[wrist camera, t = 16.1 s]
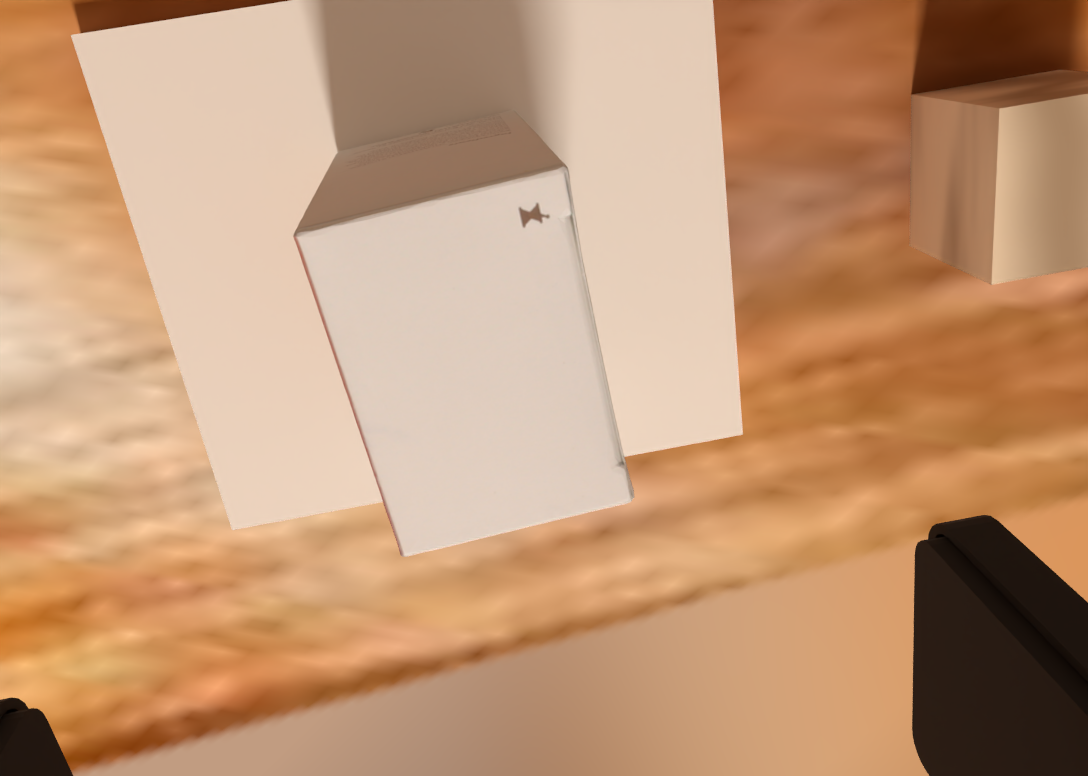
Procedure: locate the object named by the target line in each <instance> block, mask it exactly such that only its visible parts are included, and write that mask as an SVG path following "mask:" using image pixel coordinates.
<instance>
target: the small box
mask: <svg viewBox="0 0 1088 776" xmlns="http://www.w3.org/2000/svg"><path fill="white" fill-rule="evenodd" d="M293 237H294V240H295V242H296V245H297V248H298V251H299V254H300V257H301V260H302V263H303V266H304V269H305V272H306V275H307V278H308V281H309V284H310V286H311V289H312V292H313V295H314V298H315V301H316V304H317V307H318V310H319V313H320V316H321V319H322V322H323V325H324V328H325V331H326V334H327V337H328V340H329V343H330V346H331V349H332V352H333V355H334V358H335V361H336V364H337V367H338V370H339V373H340V376H341V379H342V382H343V384H344V387H345V390H346V393H347V396H348V399H349V402H350V405H351V408H352V411H353V414H354V417H355V420H356V423H357V426H358V429H359V432H360V435H361V438H362V441H363V444H364V446H365V449H366V452H367V455H368V458H369V461H370V464H371V467H372V470H373V473H374V476H375V479H376V482H377V485H378V488H379V491H380V494H381V497H382V500H383V503H384V506H385V509H386V512H387V515H388V518H389V520H390V523H391V526H392V529H393V532H394V535H395V538H396V541H397V544H398V547H399V551H400V554H401V556H403V557H408V556H411V555H415V554H419V553H423V552H427V551H432V550H436V549H441V548H445V547H449V546H453V545H457V544H461V543H465V542H469V541H473V540H477V539H481V538H485V537H489V536H493V535H498V534H502V533H506V532H510V531H514V530H518V529H522V528H526V527H530V526H534V525H538V524H543V523H547V522H551V521H555V520H559V519H563V518H568V517H572V516H576V515H580V514H584V513H589V512H593V511H597V510H601V509H605V508H610V507H614V506H618V505H623V504H627V503H629V502H631V501H632V499H633V498H634V490H633V487H632V483H631V480H630V476H629V473H628V469H627V465H626V461H625V457H624V454H623V450H622V446H621V441H620V437H619V432H618V428H617V423H616V419H615V414H614V410H613V405H612V400H611V395H610V391H609V386H608V381H607V376H606V371H605V367H604V362H603V357H602V352H601V347H600V343H599V338H598V333H597V328H596V323H595V318H594V313H593V308H592V303H591V298H590V293H589V288H588V283H587V278H586V273H585V268H584V263H583V258H582V253H581V247H580V241H579V235H578V229H577V222H576V216H575V210H574V204H573V198H572V191H571V185H570V175H569V170H568V167H567V166H566V164H564V163H563V162H562V161H561V160H560V159H559V157H558V156H557V155H556V154H555V153H554V152H553V151H552V150H551V149H550V148H549V147H548V145H547V144H546V143H545V142H544V141H543V140H542V139H541V138H540V137H539V135H538V134H537V133H536V132H535V131H534V130H533V129H532V128H531V127H530V126H529V125H528V124H527V123H526V121H525V120H524V119H523V118H522V117H521V116H520V115H519V114H518V113H517V112H516V111H515V110H510V111H506V112H502V113H499V114H495V115H491V116H486V117H482V118H478V119H473V120H469V121H465V122H460V123H456V124H452V125H447V126H443V127H439V128H435V129H431V130H426V131H422V132H418V133H414V134H410V135H405V136H401V137H397V138H393V139H388V140H384V141H380V142H376V143H371V144H367V145H363V146H359V147H355V148H351V149H347V150H342V151H339V152H338V153H337V154H336V155H335V157H334V159H333V161H332V163H331V165H330V166H329V169H328V170H327V172H326V173H325V176H324V178H323V180H322V181H321V183H320V185H319V187H318V189H317V191H316V193H315V194H314V196H313V198H312V200H311V202H310V204H309V205H308V207H307V209H306V211H305V213H304V215H303V217H302V219H301V221H300V222H299V224H298V227H297V229H296V230H295V232H294V235H293Z"/></svg>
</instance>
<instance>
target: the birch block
mask: <svg viewBox="0 0 1088 776" xmlns="http://www.w3.org/2000/svg"><path fill="white" fill-rule="evenodd" d="M910 246H911V247H913V248H915V249H917V250H919V251H921V252H923V253H925V254H928V255H930V256H932V257H934V258H936V259H938V260H940V261H942V262H944V263H947V264H949V265H951V266H953V267H955V268H957V269H959V270H961V271H964V272H966V273H968V274H970V275H972V276H974V277H976V278H978V279H980V280H983V281H985V282H987V283H989V284H991V285H993V284H998V283H1004V282H1009V281H1015V280H1020V279H1026V278H1031V277H1037V276H1042V275H1048V274H1053V273H1059V272H1064V271H1070V270H1075V269H1081V268H1086V267H1088V72H1083V71H1071V70H1054V71H1048V72H1043V73H1037V74H1031V75H1025V76H1019V77H1013V78H1007V79H1001V80H995V81H989V82H983V83H977V84H971V85H965V86H959V87H953V88H948V89H942V90H936V91H930V92H924V93H918V94H912V95H911V161H910Z"/></svg>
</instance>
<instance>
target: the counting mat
mask: <svg viewBox="0 0 1088 776" xmlns="http://www.w3.org/2000/svg"><path fill="white" fill-rule="evenodd" d="M71 37H72V40H73V43H74V46H75V49H76V53H77V56H78V59H79V62H80V65H81V68H82V71H83V74H84V77H85V80H86V83H87V86H88V89H89V92H90V95H91V99H92V102H93V105H94V108H95V111H96V114H97V117H98V120H99V123H100V126H101V129H102V132H103V135H104V138H105V141H106V145H107V148H108V151H109V154H110V157H111V160H112V163H113V166H114V169H115V172H116V175H117V178H118V181H119V184H120V187H121V191H122V194H123V197H124V200H125V203H126V206H127V209H128V212H129V215H130V218H131V221H132V224H133V227H134V230H135V233H136V237H137V240H138V243H139V246H140V249H141V252H142V255H143V258H144V261H145V264H146V267H147V270H148V273H149V276H150V279H151V283H152V286H153V289H154V292H155V295H156V298H157V301H158V304H159V307H160V310H161V313H162V316H163V319H164V322H165V325H166V329H167V332H168V335H169V338H170V341H171V344H172V347H173V350H174V353H175V356H176V359H177V362H178V365H179V368H180V371H181V375H182V378H183V381H184V384H185V387H186V390H187V393H188V396H189V399H190V402H191V405H192V408H193V411H194V414H195V417H196V421H197V424H198V427H199V430H200V433H201V436H202V439H203V442H204V445H205V448H206V451H207V454H208V457H209V460H210V463H211V467H212V470H213V473H214V476H215V479H216V482H217V485H218V488H219V491H220V494H221V497H222V500H223V503H224V506H225V509H226V513H227V516H228V519H229V522H230V525H231V528H232V530H236V529H241V528H246V527H252V526H257V525H262V524H268V523H273V522H279V521H284V520H289V519H295V518H300V517H305V516H311V515H316V514H321V513H327V512H332V511H337V510H343V509H348V508H353V507H359V506H364V505H369V504H375V503H380V502H383V500H382V497H381V494H380V491H379V488H378V485H377V482H376V479H375V476H374V473H373V470H372V467H371V464H370V461H369V458H368V455H367V452H366V449H365V446H364V444H363V441H362V438H361V435H360V432H359V429H358V426H357V423H356V420H355V417H354V414H353V411H352V408H351V405H350V402H349V399H348V396H347V393H346V390H345V387H344V384H343V382H342V379H341V376H340V373H339V370H338V367H337V364H336V361H335V358H334V355H333V352H332V349H331V346H330V343H329V340H328V337H327V334H326V331H325V328H324V325H323V322H322V319H321V316H320V313H319V310H318V307H317V304H316V301H315V298H314V295H313V292H312V289H311V286H310V284H309V281H308V278H307V275H306V272H305V269H304V266H303V263H302V260H301V257H300V254H299V251H298V248H297V245H296V242H295V240H294V237H293V235H294V232H295V230H296V229H297V227H298V224H299V222H300V221H301V219H302V217H303V215H304V213H305V211H306V209H307V207H308V205H309V204H310V202H311V200H312V198H313V196H314V194H315V193H316V191H317V189H318V187H319V185H320V183H321V181H322V180H323V178H324V176H325V173H326V172H327V170H328V169H329V166H330V165H331V163H332V161H333V159H334V157H335V155H336V154H337V153H338V152H339V151H342V150H347V149H351V148H355V147H359V146H363V145H367V144H371V143H376V142H380V141H384V140H388V139H393V138H397V137H401V136H405V135H410V134H414V133H418V132H422V131H426V130H431V129H435V128H439V127H443V126H447V125H452V124H456V123H460V122H465V121H469V120H473V119H478V118H482V117H486V116H491V115H495V114H499V113H502V112H506V111H510V110H515V111H516V112H517V113H518V114H519V115H520V116H521V117H522V118H523V119H524V120H525V121H526V123H527V124H528V125H529V126H530V127H531V128H532V129H533V130H534V131H535V132H536V133H537V134H538V135H539V137H540V138H541V139H542V140H543V141H544V142H545V143H546V144H547V145H548V147H549V148H550V149H551V150H552V151H553V152H554V153H555V154H556V155H557V156H558V157H559V159H560V160H561V161H562V162H563V163H564V164H566V166H567V167H568V170H569V175H570V185H571V191H572V198H573V204H574V210H575V216H576V222H577V229H578V235H579V241H580V247H581V253H582V258H583V263H584V268H585V273H586V278H587V283H588V288H589V293H590V298H591V303H592V308H593V313H594V318H595V323H596V328H597V333H598V338H599V343H600V347H601V352H602V357H603V362H604V367H605V371H606V376H607V381H608V386H609V391H610V395H611V400H612V405H613V410H614V414H615V419H616V423H617V428H618V432H619V437H620V441H621V446H622V450H623V454H624V457H626V456H631V455H636V454H642V453H647V452H652V451H658V450H663V449H668V448H674V447H679V446H684V445H690V444H695V443H700V442H706V441H711V440H716V439H722V438H727V437H732V436H738V435H743V431H742V416H741V402H740V388H739V373H738V359H737V344H736V330H735V315H734V301H733V287H732V272H731V258H730V243H729V229H728V214H727V200H726V186H725V171H724V157H723V142H722V128H721V113H720V99H719V85H718V70H717V56H716V41H715V27H714V12H713V0H290V1H283V2H277V3H271V4H264V5H258V6H252V7H245V8H239V9H233V10H226V11H220V12H214V13H207V14H201V15H195V16H188V17H182V18H176V19H169V20H163V21H157V22H150V23H144V24H138V25H131V26H125V27H119V28H112V29H106V30H100V31H93V32H87V33H81V34H74V35H71Z"/></svg>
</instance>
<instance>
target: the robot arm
mask: <svg viewBox="0 0 1088 776" xmlns="http://www.w3.org/2000/svg"><path fill="white" fill-rule="evenodd" d="M914 588H915V589H914V653H913V654H914V655H913V719H912V721H913V722H912V730H913V739H914V744H915V747H916V750H917V753H918V756H919V758H920V760H921V762H922V764H923V766H924V768H925V769H926V771H927V773H928V774H929V776H1088V603H1087V602H1086V601H1085V600H1084V599H1083V598H1082V597H1081V596H1080V595H1079V594H1077V592H1076V591H1074V590H1073V589H1072V588H1071V587H1070V586H1069V585H1068V584H1067V583H1066V582H1064V581H1063V580H1062V579H1061V578H1060V577H1059V576H1058V575H1057V574H1056V573H1055V572H1054V571H1052V570H1051V569H1050V568H1049V567H1048V566H1047V565H1046V564H1045V563H1044V562H1043V561H1041V560H1040V559H1039V558H1038V557H1037V556H1036V555H1035V554H1034V553H1033V552H1031V551H1030V550H1029V549H1028V548H1027V547H1026V546H1025V545H1024V544H1023V543H1022V542H1020V541H1019V540H1018V539H1017V538H1016V537H1015V536H1014V535H1013V534H1012V533H1011V532H1010V531H1008V530H1007V529H1006V528H1005V527H1004V526H1003V525H1002V524H1001V523H1000V522H999V521H997V520H996V519H994V518H993V517H991V516H988V515H981V516H976V517H971V518H965V519H960V520H955V521H949V522H944V523H939V524H936V525H934V526H932V528H931V530H930V532H929V537H928V540H923V541H920V542H918V544H917V546H916V550H915V586H914ZM0 776H73V775H72V772H71V770H70V768H69V766H68V764H67V762H66V759H65V757H64V755H63V753H62V751H61V749H60V747H59V744H58V742H57V740H56V738H55V736H54V734H53V731H52V729H51V727H50V725H49V723H48V721H47V719H46V717H45V715H44V714H43V712H41V711H40V710H39V709H34V708H32V709H28V707H27V706H26V704H25V703H24V702H23V701H21V700H20V699H18V698H7V699H2V700H0Z"/></svg>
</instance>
